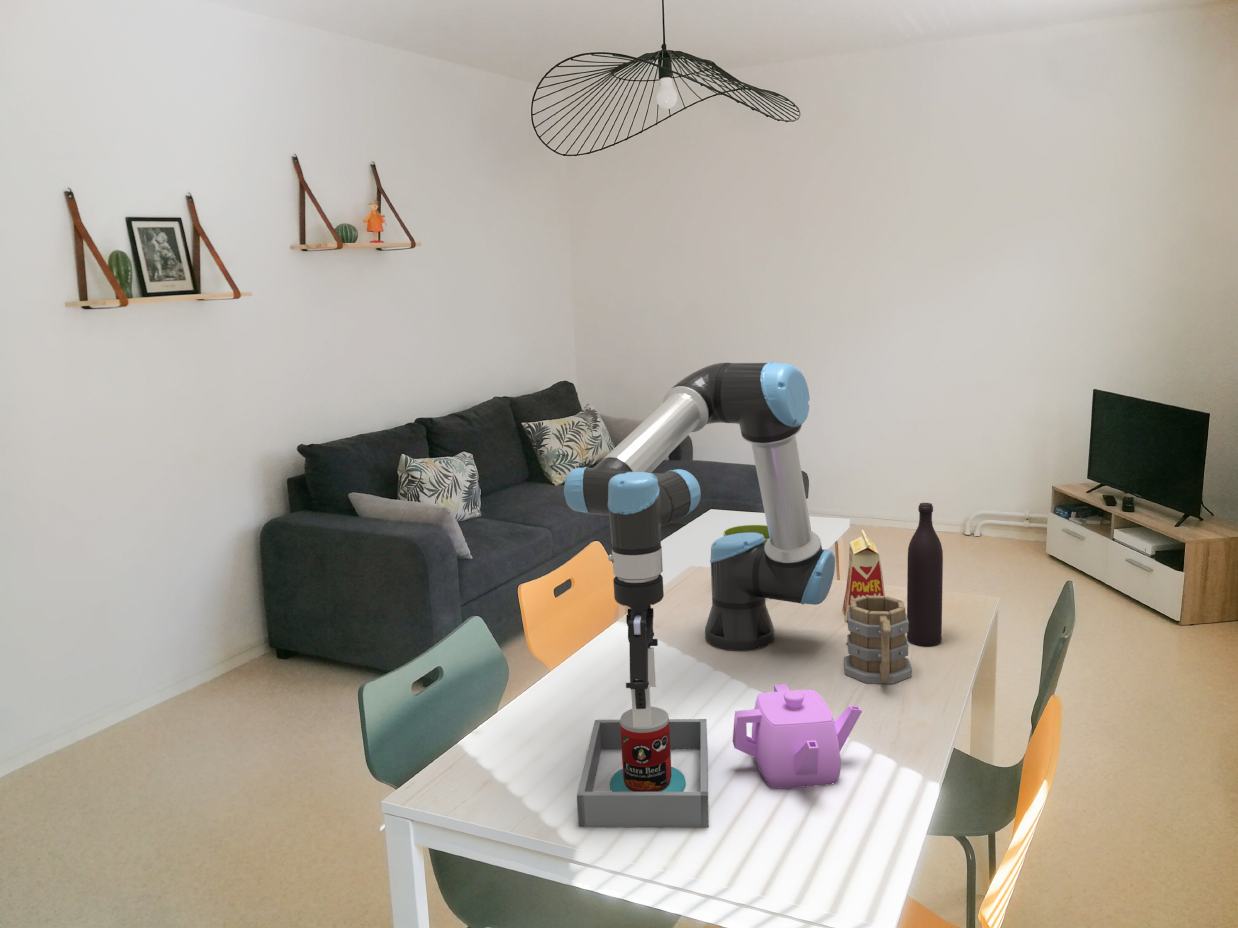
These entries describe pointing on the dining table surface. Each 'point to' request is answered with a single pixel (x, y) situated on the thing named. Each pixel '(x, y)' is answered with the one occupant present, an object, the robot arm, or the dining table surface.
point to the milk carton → (863, 572)
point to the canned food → (646, 752)
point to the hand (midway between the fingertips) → (645, 705)
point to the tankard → (877, 640)
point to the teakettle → (794, 737)
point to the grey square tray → (643, 806)
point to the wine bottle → (925, 582)
